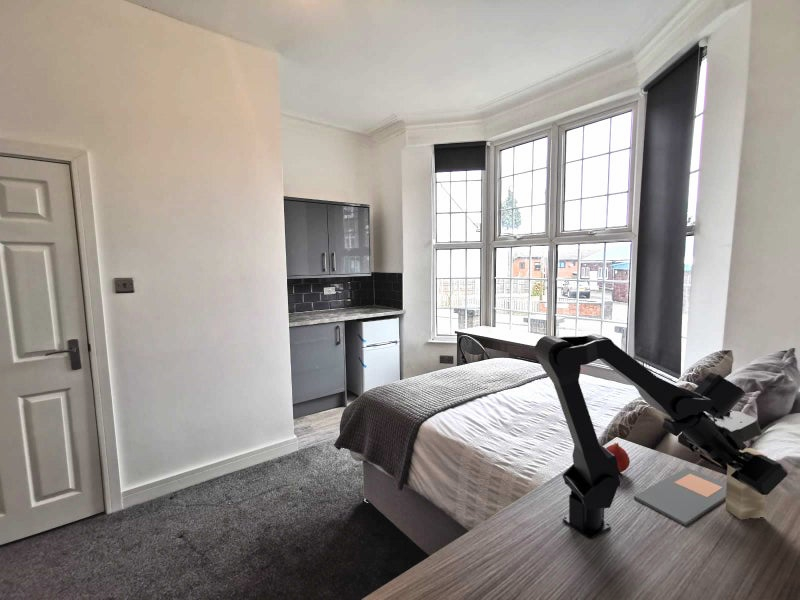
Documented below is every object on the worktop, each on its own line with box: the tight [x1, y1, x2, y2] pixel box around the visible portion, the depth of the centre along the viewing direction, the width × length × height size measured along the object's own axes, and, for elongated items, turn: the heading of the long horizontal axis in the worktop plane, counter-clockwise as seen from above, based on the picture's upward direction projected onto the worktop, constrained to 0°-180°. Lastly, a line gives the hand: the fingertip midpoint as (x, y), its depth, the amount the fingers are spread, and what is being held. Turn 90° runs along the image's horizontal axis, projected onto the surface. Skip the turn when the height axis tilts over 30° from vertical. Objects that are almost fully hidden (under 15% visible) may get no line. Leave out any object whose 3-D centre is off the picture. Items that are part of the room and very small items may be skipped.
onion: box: [605, 442, 631, 473], centre depth 91 cm, size 6×6×8 cm
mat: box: [633, 467, 727, 526], centre depth 82 cm, size 22×10×1 cm, turn 117°
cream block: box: [725, 447, 768, 520], centre depth 75 cm, size 5×3×13 cm, turn 92°
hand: (752, 480), depth 75 cm, fingers closed on cream block, 3 cm apart
